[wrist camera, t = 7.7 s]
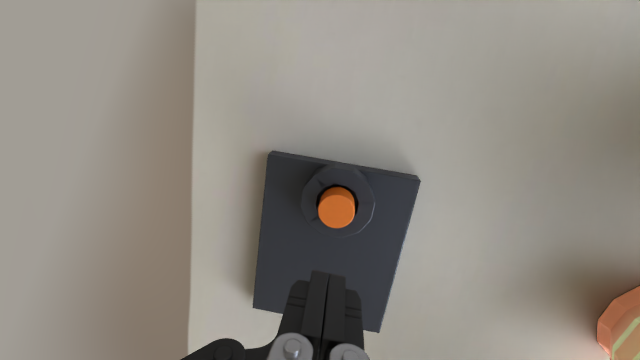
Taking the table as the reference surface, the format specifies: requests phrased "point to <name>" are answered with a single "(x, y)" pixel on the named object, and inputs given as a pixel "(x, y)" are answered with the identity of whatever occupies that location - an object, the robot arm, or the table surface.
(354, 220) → the dark grey flat block
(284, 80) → the table surface
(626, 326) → the potted cactus
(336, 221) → the button
